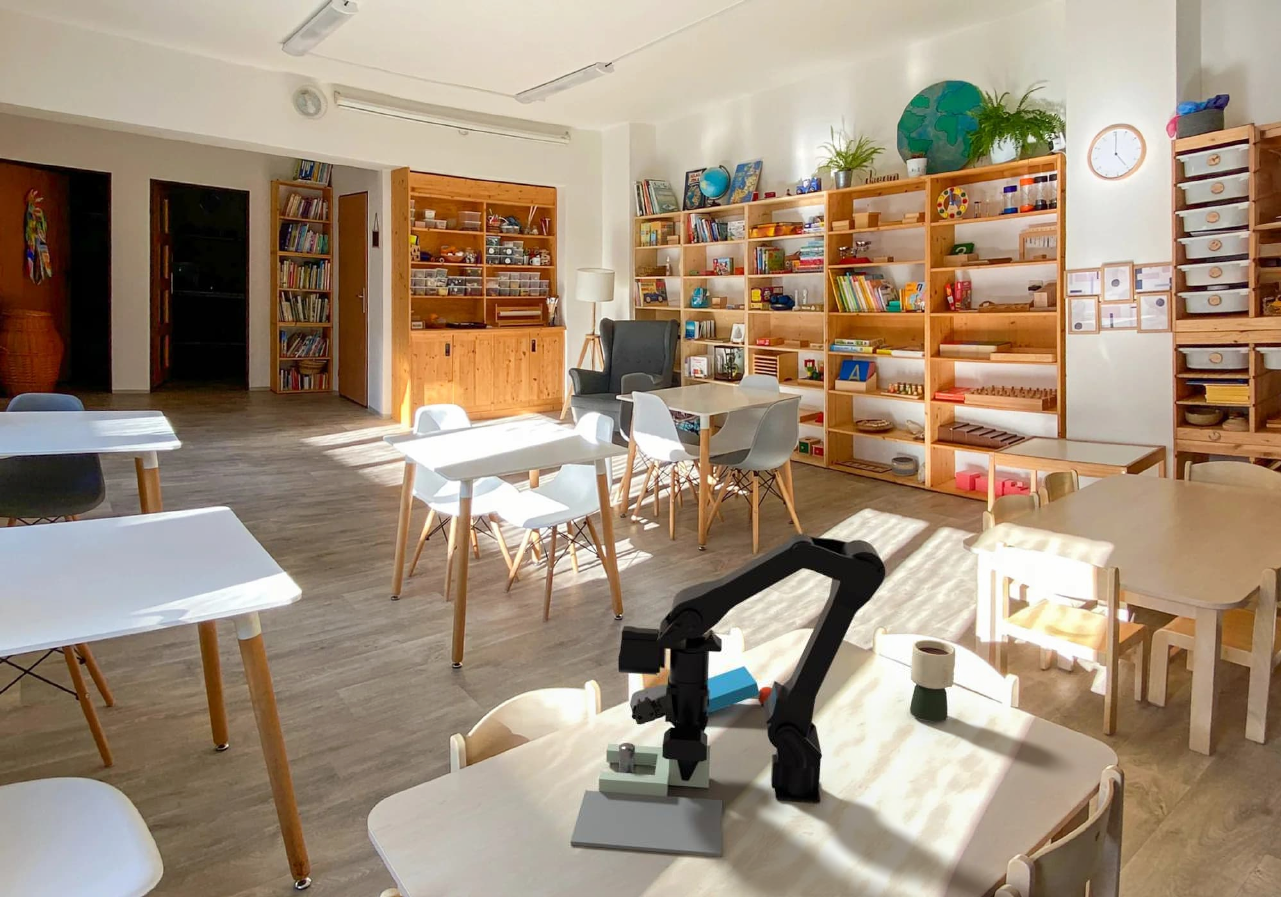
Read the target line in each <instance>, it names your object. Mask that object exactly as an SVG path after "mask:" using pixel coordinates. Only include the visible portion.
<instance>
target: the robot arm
mask: <svg viewBox="0 0 1281 897" xmlns="http://www.w3.org/2000/svg"><path fill="white" fill-rule="evenodd" d="M802 569H803V570H804V569H805V570H809V571H812V572H815V573H818V574H820V575H822V576H825V577H827V578H830V579H831V585H830V591H829V595H828V598H827V600H826V601H825V604H824V606H823V608H822V610H821V613H820V614H819V617H818V619H817V621H816V623H815V626H814V628H813V630H812V631H811V634H810V636H809V639H808V640H807V643H806V644H805V647H804V649H803V651H802V653H801V655H800V658H799V660H798V662H797V663H796V666H795V668H794V671H793V672H792V675H791V676H790V678H789V679H788V680H787V681H785V683H783V684H781V683H779V682H778V681H775V680H774V681H773V684H772V687H771V688H772V691H771V694H770V695H769V697H768V698H767V699H766V700H765V701H764V705H763V706H764V714H765V716H764V717H765V724H766V729H767V737H768V739H769V742H770V744H771V745H772V746H773V747H774V748H775V750H776V752H775V754H774V753H773V754H772V755H771V767H770V768H771V771H770V772H771V773H770V781H771V782H770V784H771V788H772V789H773V790H774V798H775V799H776V800H780V801H792V802H793V801H794V802H807V803H820V802H821V793H820V781H821V780H820V776H821V761H822V760H821V759H822V757H823V754H822V749H821V744H820V739H819V734H818V730H817V726H816V725H815V723H813V718H814V711H815V710H814V709H815V703H816V698H817V695H818V693H819V691H820V689H821V688H822V684H823V683H824V681H825V678H826V677H827V674H828V672H829V670H830V668H831V665H832V664H833V662H834V659H835V657H836V655H837V654H838V652H839V649H840V647H841V645H842V642H843V641H844V638H845V636H846V634H847V632H848V630H849V628H850V626H851V624H852V621H853V619H854V618H855V616H856V614H857V612H858V611H859V610H861V609H862V608H863V607H864V606H865V605H866V604H867V603H868V602H869V601H870V600H872V598H873V597H874V595H875V594H876V592H877V591H878V590H879V588H880V587H881V586H882V584H883V582H884V581H885V578H886V573H887V572H886V567H885V564H884V562H883V560H882V559H881V557H880V555H879V553H878V551H877V550H876V548H875V547H874V546H873V545H872V544H871V543H869V542H868V541H866V540H862V539H855V540H850V541H844V540H839V539H835V538H827V537H826V538H825V537H817V536H812V535H807V534H804V533H797V534H794V535H792V536H791V537H790V538H789V539H788V540H787V541H785V542H783V543H781V544H780V545H778V546H776V547H774V548H773V549H771V550H769V551H767V552H766V553H764V554H762V555H761V556H759V557H757V558H755V559H753V560H751V561H750V562H748V563H746V564H744V565H742V566H741V567H739V568H737V569H735V570H734V571H732V572H730V573H728V574H726V575H725V576H723V577H721V578H718V579H715V580H710V581H703V582H700V583H697V584H694V585H692V586H688V587H686V588H684V589H681V590H680V591H678V592H677V593H676V594H675V596H674V597H673V601H672V605H671V610H670V611H669V612H668V613H667V614H666V616H665V617H664V618H663V619H662V620H661V621H660V623H659V624H660V625H659V628H647V627H646V628H645V627H636V626H631V625H624V626H623V627H622V630H621V640H620V648H619V649H620V650H619V653H618V664H617V666H618V673H619V674H620V673H621V674H637V675H638V674H639V675H652V676H653V675H654V676H657V675H658V674H661V669H665V668H666V660H667V650H669V675H668V678H667V683H666V684H662V685H659V684H658V685H655V686H651V687H648V688H647V687H646V688H644V689H640V690H637V691H635V692H633V693H632V695H631V698H630V703H629V706H630V709H631V712H632V713H631V718H632V720H635V722H636V724H637V725H644V724H646V723H650V722H653V721H655V720H659V719H661V718H663V717H664V720H665V721H664V722H665V723H666V722H667V723H671V725H672V726H673V727H672V726H670V727H669V728H668V729H667V730H666V731H665V732H663V733H664V734H663V739H662V747H663V751H662V757H664V758H665V759H672V760H677V762H678V766H679V771H680V775H681V779H682V780H683V781H689V780H690V778H691V776H692V774H693V772H694V770H695V768H696V766H697V764H698V763H699V761H701V762H703V761H705V760H707V746H708V736H709V735H707V733H706V732H705V731H706V728H707V726H708V723H709V713H707V709H709V695H710V690H709V689H708V679H709V665H710V652H711V653H713V652H714V653H720V652H722V649H723V648H722V647H723V640H722V638H720V637H719V636H718V635H717V634H716V633H715V632H714V630H713V629H712V628H714V627H715V626H716V625H718V623H719V622H720V621H721V620H722V619H724V617H726V615H727V614H728V613H729V611H731V610H732V609H733V608H735V607H736V606H738V605H740V604H741V603H743V602H746V600H748V599H750V598H752V597H754V596H755V595H756V596H757V594H759V593H761V592H764V591H765V590H767V589H768V588H770V587H772V586H774V585H775V584H777V583H779V582H781V581H783V580H785V579H786V578H788V577H790V576H792V575H794V574H795V573H797V572H799V571H801V570H802Z"/></svg>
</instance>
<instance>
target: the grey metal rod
mask: <svg viewBox="0 0 1281 897" xmlns="http://www.w3.org/2000/svg"><path fill="white" fill-rule="evenodd" d="M620 744H621V745H620V746H619V763H618V773H630V774H636V773H635V768H636V764H635V746H636V745H635V744H633V743H630V742H623V743H620ZM634 745H635V746H634Z"/></svg>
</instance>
